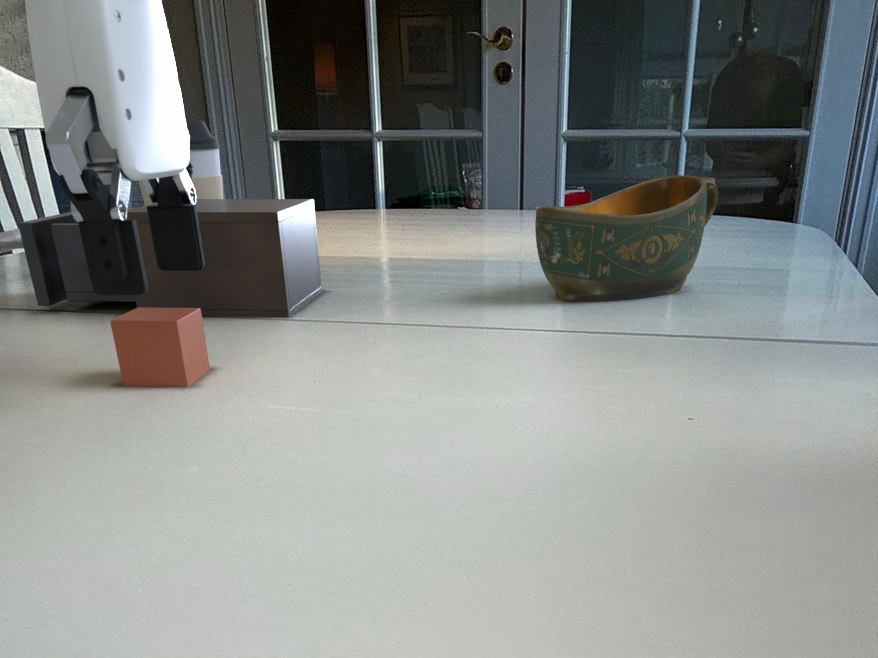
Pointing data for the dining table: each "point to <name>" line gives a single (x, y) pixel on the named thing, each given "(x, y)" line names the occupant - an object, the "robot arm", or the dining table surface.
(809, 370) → the dining table surface
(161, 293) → the cabinet
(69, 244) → the drawer
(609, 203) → the creamer
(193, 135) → the coffee cup
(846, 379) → the dining table surface
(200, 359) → the block
